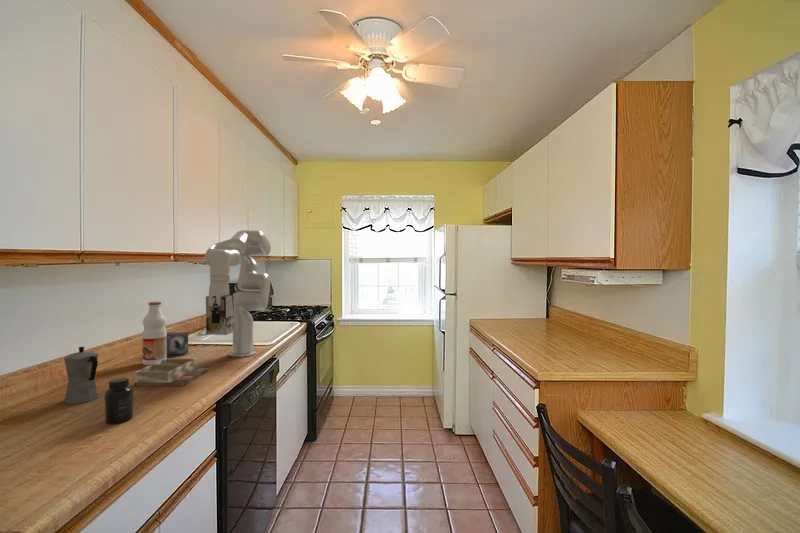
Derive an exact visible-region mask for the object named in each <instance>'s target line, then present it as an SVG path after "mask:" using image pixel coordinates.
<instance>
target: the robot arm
mask: <svg viewBox="0 0 800 533" xmlns="http://www.w3.org/2000/svg"><path fill="white" fill-rule="evenodd" d="M271 247H272V246H271V242H270V240H269V239H268V237H267V235H265V233H264V232H263V231H261V230H251V229H250V230H249V229H247V230H246V229H245V230H239V231H237V232H235V234H234V235H233V236H232V237H231V238H229V239H226V240H223V241H220V242H216V243H213V244H212V245H211V246H209V248H208V249H207V250H206V252H205V254H204V261H205V263H206V265H208V266H209V288H208V296H209V298H208V305H209V307H210V310H211V314H212V323H220V313H219V310H220V307H221V302H222V297H223V296H226V295H231V294H230V293H231V292H230V284H229V283H230V282H231V277H230V276H231V275H230V271H231V270H230V269H231V268H230V267H236V266H238V265H239V264H240V267H239V274H238V279H237V288H238V289H239V290H240V291H237V292H234V293H233V294H232V295H233V306H234V332H233V333H232V351H230V352H229V354H228V356H230V357H234V358H241V357H242V358H244V357H245V356H246V357H249V356H251V357H252V356H253V355H256V354H257V350H256V349H254V345H255V343H254V318H253V315H252V314H251V313H250V311H265V310H266V309H267V308H268V304H269V297H270V293H271V292H270V290H271V277H270V275H269V274H268V273H265V272H258V269H259V266H258V263H257V261H256V260H255V259H253V257H256V256H257V257H266V256H269V255H270V253H271V250H272V248H271ZM215 304H218V306H214V305H215ZM216 308H217V309H216Z"/></svg>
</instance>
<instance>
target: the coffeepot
mask: <svg viewBox="0 0 800 533" xmlns="http://www.w3.org/2000/svg"><path fill="white" fill-rule="evenodd" d="M63 357H64V358H63V359H64V364H65V368H66V370H65V371H66V374H67V378H68V379H67V380H68V382H67V385H66V391H65V395H64V404H65V405H79V404H80V403H81V404H86V403H89V401H90V402H92V401H95V400H97V399H98V398H99V395H98V390H97V386H96V381H95V376H96V374H97V368H98V364H99V360H98V357H99V354H98V352H94V351H93V352H92V351H85V346H79V347H78V352H76V353H70V354H69V353H68V355H66V356H63ZM94 399H95V400H94ZM85 402H86V403H85ZM81 404H80V405H81Z"/></svg>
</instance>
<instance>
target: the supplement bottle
mask: <svg viewBox="0 0 800 533" xmlns="http://www.w3.org/2000/svg"><path fill="white" fill-rule="evenodd" d="M129 385H130V380H129V377H117V378H114V379H111V380H109V381H108V389H107V391H106V392H105V393H104V416H105V418H104V420H105V423H107V424H109V425H115V424H116V425H117V424H121V423H124V422H127V421H130V420H131V419H132V418H133V417H134V389H133V388H132V386H129Z"/></svg>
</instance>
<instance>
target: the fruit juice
mask: <svg viewBox="0 0 800 533" xmlns="http://www.w3.org/2000/svg"><path fill="white" fill-rule="evenodd" d="M161 306H162V301H148V307H149V308H148V312H147V314H146V316H144V318H143V319H142V325H143V330H142V335H141V336H142V341H141V342H142V344H141V345H142V348H141V349H142V350H141V351H142V356H141V358H142V360H141V361H142V364H143V365H144V366H150V365H152V364H154V363H157V362H159V361H161V360H164V359H166V358H167V333H168V332H167V331H168V330H167V327H166V325H167V317H166V316H165V315H164V314H163V312H162V308H161Z"/></svg>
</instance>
